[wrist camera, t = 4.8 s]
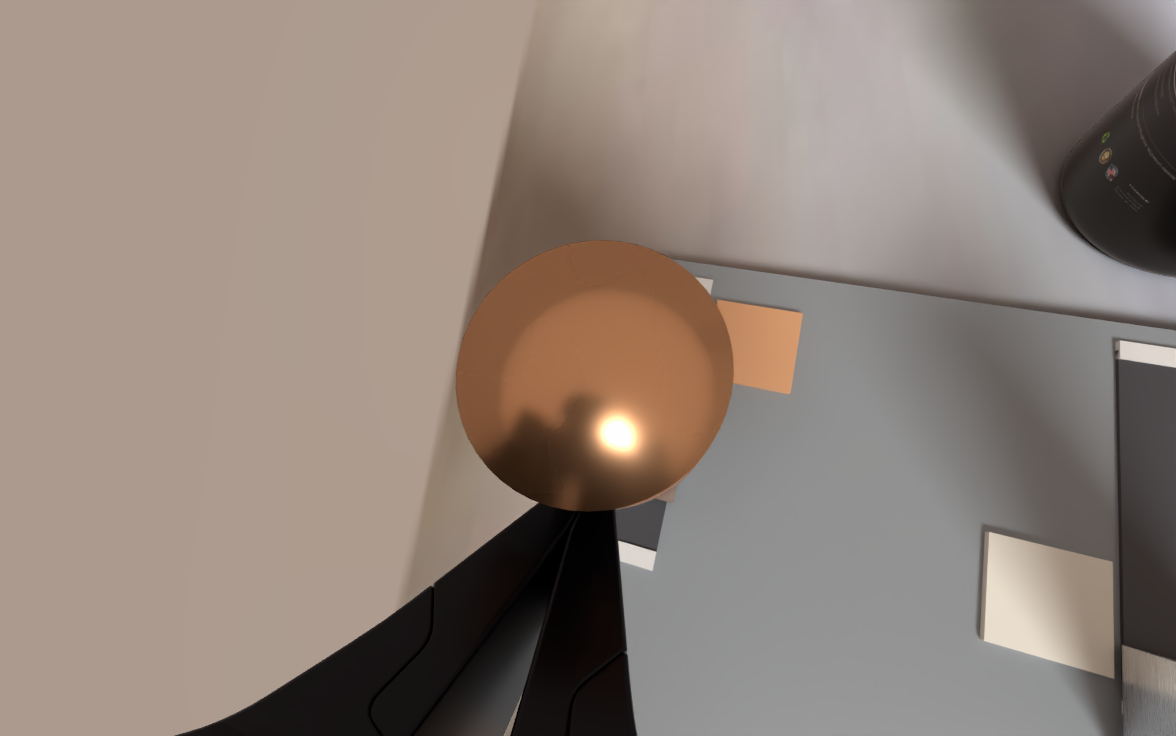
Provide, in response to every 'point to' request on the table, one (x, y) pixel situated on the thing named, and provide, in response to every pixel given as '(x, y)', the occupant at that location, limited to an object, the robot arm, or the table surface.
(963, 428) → the switch board
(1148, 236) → the supplement bottle
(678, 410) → the lever
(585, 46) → the table surface
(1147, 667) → the lever
